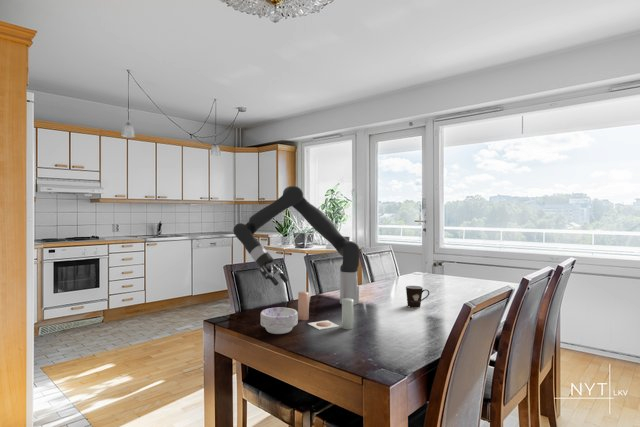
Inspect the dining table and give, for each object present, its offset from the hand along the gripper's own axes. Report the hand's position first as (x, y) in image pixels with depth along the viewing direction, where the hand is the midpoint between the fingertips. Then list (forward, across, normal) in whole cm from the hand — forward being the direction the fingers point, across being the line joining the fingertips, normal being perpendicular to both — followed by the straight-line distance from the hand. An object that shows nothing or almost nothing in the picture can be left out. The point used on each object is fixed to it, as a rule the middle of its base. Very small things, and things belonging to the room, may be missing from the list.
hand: (282, 282), depth 186 cm
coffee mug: (+49, +48, -26) cm, 73 cm away
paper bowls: (+19, -20, +4) cm, 28 cm away
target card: (+28, -5, -6) cm, 29 cm away
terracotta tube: (+19, 0, +3) cm, 19 cm away
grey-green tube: (+35, -4, -13) cm, 38 cm away
